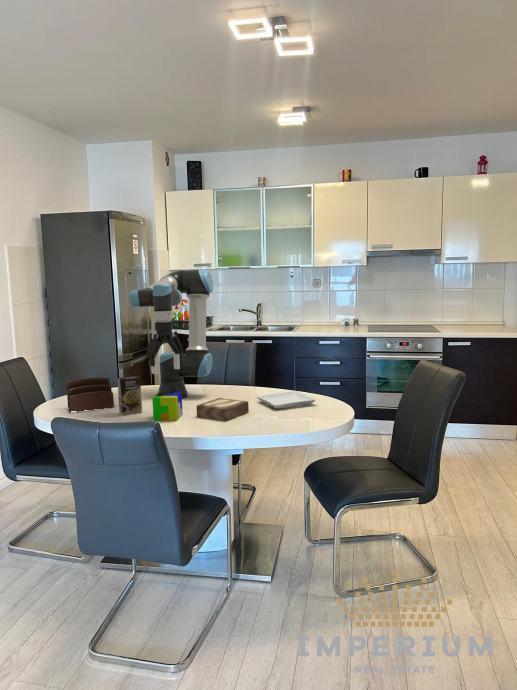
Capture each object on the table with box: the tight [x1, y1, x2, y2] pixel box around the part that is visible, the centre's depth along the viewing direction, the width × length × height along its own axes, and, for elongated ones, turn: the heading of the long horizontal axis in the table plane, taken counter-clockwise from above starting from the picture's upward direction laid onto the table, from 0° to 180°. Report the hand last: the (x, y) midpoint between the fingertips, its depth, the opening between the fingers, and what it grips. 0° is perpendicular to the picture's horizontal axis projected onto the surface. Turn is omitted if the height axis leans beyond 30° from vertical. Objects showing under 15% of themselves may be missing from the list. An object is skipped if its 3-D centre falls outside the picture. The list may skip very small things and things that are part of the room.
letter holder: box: [66, 376, 115, 413], centre depth 240 cm, size 10×20×14 cm, turn 115°
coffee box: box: [117, 375, 143, 416], centre depth 229 cm, size 9×6×16 cm
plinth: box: [196, 397, 250, 422], centre depth 221 cm, size 16×16×5 cm
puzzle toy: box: [151, 392, 184, 422], centre depth 218 cm, size 10×10×10 cm
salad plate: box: [256, 390, 316, 410], centre depth 238 cm, size 21×21×3 cm
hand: (166, 371), depth 216 cm, fingers open, 13 cm apart
